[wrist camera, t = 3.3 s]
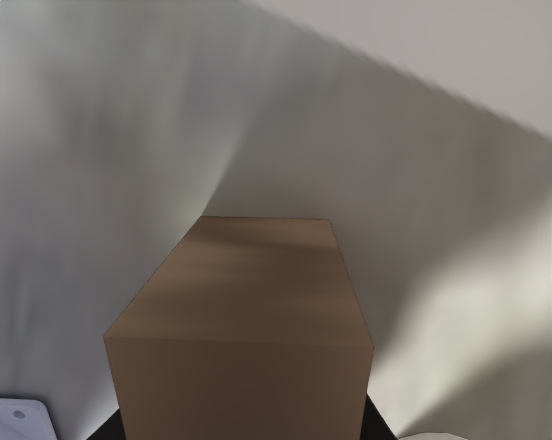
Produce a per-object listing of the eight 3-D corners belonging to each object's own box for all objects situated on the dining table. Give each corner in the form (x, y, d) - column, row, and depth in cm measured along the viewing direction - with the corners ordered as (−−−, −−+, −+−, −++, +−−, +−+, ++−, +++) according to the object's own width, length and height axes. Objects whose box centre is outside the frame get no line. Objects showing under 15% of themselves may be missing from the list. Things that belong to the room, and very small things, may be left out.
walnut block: (216, 418, 14) (168, 622, 9) (200, 216, 11) (103, 336, 5) (312, 423, 14) (329, 634, 8) (329, 219, 11) (374, 347, 5)
